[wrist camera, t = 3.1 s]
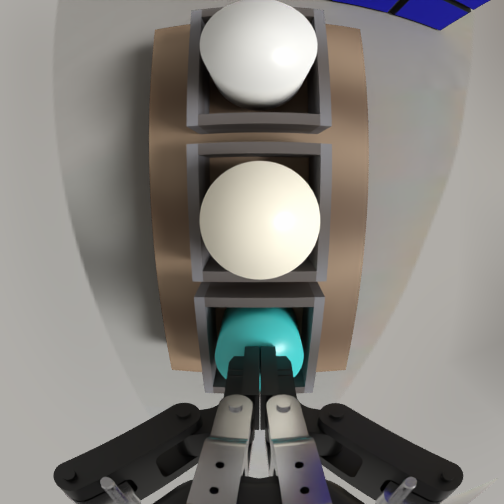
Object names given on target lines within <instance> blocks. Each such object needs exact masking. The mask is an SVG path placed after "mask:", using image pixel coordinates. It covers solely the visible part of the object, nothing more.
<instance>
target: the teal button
mask: <svg viewBox="0 0 504 504" xmlns="http://www.w3.org/2000/svg"><path fill="white" fill-rule="evenodd" d="M245 346H259V368H260V367H261V346H275V348H276V356H287V358H288V359H289V360H290V361H291V364H292V371H293V377H295V376H296V375H297V374H298V372H299V371H300V369H301V367H302V364H303V359H304V353H303V347H302V343H301V339H300V334H299V330H298V326H297V322H296V317H295V314H294V311H293V309H292V308H291V307H273V308H245V307H227V308H226V310H225V312H224V315H223V319H222V324H221V328H220V333H219V337H218V341H217V346H216V351H215V362H216V365H217V368H218V370H219V372H220V373H221V374H222V376H223V377H224V378H225V379H227V372H228V365H229V361H230V360H231V359H232V358H233V357H234V356H244V351H245Z"/></svg>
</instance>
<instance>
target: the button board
mask: <svg viewBox="0 0 504 504" xmlns="http://www.w3.org/2000/svg"><path fill="white" fill-rule="evenodd" d="M222 8H224V7H221V8H210V9H200V10H192V11H191V24H189V25H181V26H175V27H169V28H163V29H157V30H155V35H154V45H153V56H152V69H151V85H150V108H149V173H150V198H151V215H152V229H153V241H154V252H155V262H156V271H157V279H158V287H159V295H160V302H161V309H162V316H163V322H164V329H165V335H166V341H167V346H168V352H169V357H170V362H171V367H172V370H182V371H195V372H202V374H203V381H204V388H205V392H207V393H224V392H225V386H226V379H225V378H224V377H223V376H222V374H221V373H220V372H219V370H218V368H217V365H216V362H215V351H216V346H217V341H218V337H219V333H220V328H221V324H222V319H223V315H224V312H225V310H226V308H227V307H245V308H273V307H291V308H292V309H293V311H294V314H295V317H296V322H297V326H298V330H299V334H300V339H301V343H302V347H303V353H304V359H303V364H302V367H301V369H300V371H299V372H298V374H297V375H296V376H295V377H294V383H295V390H296V393H312V392H313V387H314V381H315V374H316V372H323V371H337V370H346V365H347V360H348V355H349V350H350V345H351V340H352V334H353V328H354V322H355V316H356V310H357V303H358V296H359V289H360V281H361V273H362V264H363V255H364V244H365V232H366V218H367V200H368V167H369V140H368V108H367V91H366V77H365V66H364V57H363V48H362V40H361V33H360V29H356V28H350V27H344V26H337V25H330V24H325V16H324V10H318V9H309V8H297V7H293V8H294V9H296V10H297V11H299V12H300V13H301V14H302V15H303V16H304V17H305V18H306V19H307V20H308V21H309V23H310V24H311V25H312V27H313V29H314V31H315V34H316V38H317V54H316V58H315V60H314V63H313V64H312V66H311V68H310V70H309V72H308V74H307V76H306V78H305V79H304V81H303V83H302V85H301V87H300V89H299V91H298V92H297V93H296V95H295V96H294V97H293V98H292V99H291V100H289V101H288V102H287V103H285V104H283V105H281V106H279V107H277V108H273V109H269V110H259V111H258V110H249V109H245V108H241V107H239V106H236V105H234V104H233V103H231V102H230V101H228V100H227V99H226V98H225V97H224V96H223V95H222V94H221V93H220V92H219V90H218V88H217V86H216V85H215V83H214V81H213V79H212V77H211V75H210V73H209V71H208V69H207V67H206V65H205V63H204V62H203V59H202V56H201V52H200V37H201V34H202V31H203V29H204V27H205V25H206V23H207V22H208V21H209V19H210V18H211V17H212V16H213V15H214V14H215V13H217V12H218V11H219V10H221V9H222ZM251 161H268V162H273V163H277V164H280V165H283V166H285V167H287V168H289V169H291V170H293V171H294V172H296V173H297V174H298V175H299V176H301V177H302V178H303V179H304V180H305V182H306V183H307V184H308V185H309V186H310V188H311V190H312V191H313V193H314V195H315V197H316V200H317V203H318V206H319V211H320V230H319V234H318V238H317V241H316V243H315V246H314V247H313V249H312V251H311V253H310V254H309V255H308V257H307V258H306V259H305V260H304V261H303V262H302V263H301V264H300V265H299V266H298V267H296V268H295V269H293V270H292V271H290V272H289V273H286V274H284V275H282V276H279V277H276V278H271V279H262V280H258V279H249V278H244V277H241V276H238V275H236V274H233V273H231V272H230V271H228V270H226V269H225V268H223V267H222V266H221V265H220V264H219V263H218V262H217V261H216V260H215V259H214V258H213V257H212V256H211V254H210V253H209V251H208V250H207V248H206V246H205V244H204V241H203V239H202V235H201V231H200V210H201V205H202V202H203V199H204V197H205V195H206V193H207V191H208V189H209V188H210V186H211V185H212V184H213V182H214V181H215V180H216V179H217V178H218V177H219V176H220V175H221V174H223V173H224V172H226V171H227V170H229V169H231V168H232V167H234V166H237V165H240V164H242V163H246V162H251Z"/></svg>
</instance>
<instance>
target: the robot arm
mask: <svg viewBox="0 0 504 504" xmlns="http://www.w3.org/2000/svg"><path fill="white" fill-rule="evenodd" d="M259 397H260V410H261V430H265V448H266V456H267V465H268V473H269V477H266V478H260V479H258V478H253V477H249V470H250V463H251V455H252V447H253V440H254V435H255V430H259ZM197 463H198V465H197V468H196V472H195V475H194V479H193V480H190V481H187V482H185V483H183V484H181V485H179V486H177V487H176V488H175V489H173V490H172V491H170V492H169V493H168V494H166V495H165V496H163V497H162V498H161V499H159V500H158V501H156V502H155V503H153V504H364V503H363V502H362V501H360V500H359V499H357V498H356V497H354V496H353V495H352V494H350V493H349V492H347V491H346V490H345V489H343V488H342V487H340V486H339V485H337V484H335V483H333V482H331V481H328V480H326V479H325V476H324V472H323V469H322V465H323V466H324V467H326V468H327V469H329V470H330V471H331V472H333V473H334V474H336V475H337V476H338V477H340V478H341V479H343V480H345V481H346V482H347V483H349V484H350V485H352V486H353V487H355V488H356V489H358V490H360V491H361V492H363V493H364V494H366V495H367V496H369V497H371V498H372V499H374V500H376V503H375V504H441V503H442V502H443V501H444V500H445V499H446V498H447V497H448V496H449V495H450V494H451V493H452V492H454V491H455V489H456V488H457V487H458V486H459V485H460V484H461V482H462V480H463V472H462V470H461V468H460V467H459V466H458V465H457V464H455V463H452V462H450V461H448V460H446V459H444V458H442V457H440V456H438V455H435V454H433V453H431V452H429V451H427V450H425V449H423V448H421V447H419V446H417V445H415V444H413V443H411V442H410V441H408V440H406V439H404V438H402V437H400V436H398V435H396V434H394V433H392V432H391V431H389V430H387V429H385V428H383V427H382V426H380V425H378V424H376V423H375V422H373V421H371V420H369V419H368V418H366V417H364V416H362V415H361V414H359V413H357V412H355V411H354V410H352V409H351V408H349V407H347V406H345V405H343V404H339V403H332V404H328V405H326V406H324V407H323V408H322V409H321V410H318V409H312V408H308V407H306V406H304V405H302V404H301V403H300V402H299V401H298V399H297V396H296V390H295V383H294V377H293V371H292V364H291V361H290V360H289V359H288V358H287V356H276V348H275V346H261V367H260V368H259V346H245V351H244V356H234V357H233V358H232V359H231V360H230V361H229V365H228V372H227V379H226V386H225V392H224V398H223V399H222V400H221V401H220V403H219V405H217V406H215V407H213V408H209V409H204V410H199V409H198V408H197V407H196V406H195V405H193V404H190V403H179V404H176V405H173V406H172V407H170V408H168V409H167V410H165V411H163V412H161V413H160V414H158V415H156V416H154V417H153V418H151V419H149V420H147V421H146V422H144V423H142V424H140V425H138V426H137V427H135V428H133V429H132V430H129V431H127V432H126V433H124V434H122V435H120V436H118V437H116V438H114V439H112V440H110V441H109V442H106V443H104V444H102V445H100V446H98V447H96V448H94V449H92V450H90V451H88V452H86V453H84V454H82V455H79V456H77V457H75V458H73V459H71V460H68V461H66V462H64V463H62V464H60V465H59V466H58V467H57V468H56V469H55V471H54V480H55V482H56V484H57V485H58V486H59V487H60V488H61V489H62V490H63V491H64V492H65V494H66V495H67V497H68V498H70V499H71V500H72V501H73V502H74V503H75V504H141V501H140V500H142V499H144V498H145V497H147V496H149V495H150V494H152V493H154V492H155V491H157V490H159V489H160V488H162V487H163V486H165V485H166V484H168V483H169V482H171V481H173V480H174V479H176V478H177V477H179V476H180V475H181V474H183V473H184V472H186V471H187V470H189V469H190V468H192V467H193V466H194V465H196V464H197ZM321 464H322V465H321Z"/></svg>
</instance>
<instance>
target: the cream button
mask: <svg viewBox="0 0 504 504" xmlns="http://www.w3.org/2000/svg"><path fill="white" fill-rule="evenodd" d="M319 230H320V211H319V206H318V203H317V200H316V197H315V195H314V193H313V191H312V190H311V188H310V186H309V185H308V184H307V183H306V182H305V180H304V179H303V178H302V177H301V176H299V175H298V174H297V173H296V172H294V171H293V170H291V169H289V168H287V167H285V166H283V165H280V164H277V163H273V162H268V161H251V162H246V163H242V164H240V165H237V166H234V167H232V168H231V169H229V170H227V171H226V172H224V173H223V174H221V175H220V176H219V177H218V178H217V179H216V180H215V181H214V182H213V184H212V185H211V186H210V188H209V189H208V191H207V193H206V195H205V197H204V199H203V202H202V205H201V210H200V231H201V235H202V239H203V241H204V244H205V246H206V248H207V250H208V251H209V253H210V254H211V256H212V257H213V258H214V259H215V260H216V261H217V262H218V263H219V264H220V265H221V266H222V267H223V268H225V269H226V270H228V271H230V272H231V273H233V274H236V275H238V276H241V277H244V278H249V279H258V280H262V279H271V278H276V277H279V276H282V275H284V274H286V273H289V272H290V271H292V270H293V269H295V268H296V267H298V266H299V265H300V264H301V263H302V262H303V261H304V260H305V259H306V258H307V257H308V255H309V254H310V253H311V251H312V249H313V247H314V246H315V243H316V241H317V238H318V234H319Z"/></svg>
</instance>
